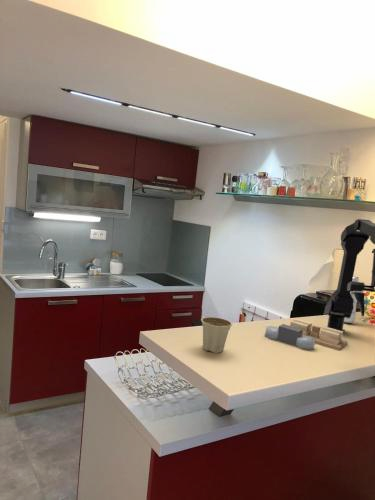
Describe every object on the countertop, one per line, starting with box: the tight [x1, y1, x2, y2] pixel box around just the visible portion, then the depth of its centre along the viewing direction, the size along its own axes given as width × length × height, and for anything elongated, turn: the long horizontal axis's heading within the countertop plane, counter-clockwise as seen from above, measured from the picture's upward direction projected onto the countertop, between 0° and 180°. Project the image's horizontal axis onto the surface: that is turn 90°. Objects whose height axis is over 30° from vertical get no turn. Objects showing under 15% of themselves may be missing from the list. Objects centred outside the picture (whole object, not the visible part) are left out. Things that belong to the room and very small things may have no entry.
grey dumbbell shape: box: [264, 323, 316, 351], centre depth 139 cm, size 6×17×5 cm, turn 55°
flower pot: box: [200, 316, 233, 353], centre depth 123 cm, size 9×9×9 cm
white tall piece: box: [344, 275, 359, 324], centre depth 173 cm, size 6×7×20 cm
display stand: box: [289, 318, 348, 351], centre depth 146 cm, size 10×20×4 cm, turn 55°
